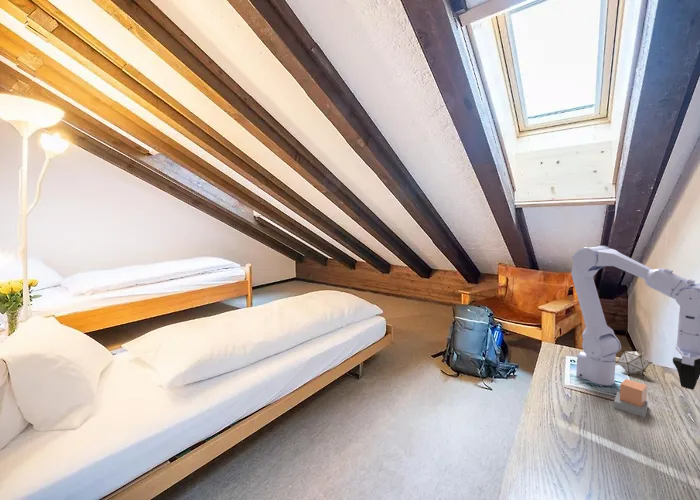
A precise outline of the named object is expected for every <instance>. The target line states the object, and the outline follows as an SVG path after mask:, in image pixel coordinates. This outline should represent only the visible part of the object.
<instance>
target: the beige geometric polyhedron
mask: <svg viewBox="0 0 700 500" xmlns="http://www.w3.org/2000/svg"><path fill="white" fill-rule="evenodd" d="M621 352H622V353H621V356H620V357H619V358H618V360H617V361H616V360H615V364H618V365H620V367H621V368H622V369H624V371H626V373H627V376H628V377H629V376H631V375H637V374H638V375H639V374H640V375H642V376H645V375H646V374H645V373H647V371H646V370H647V369H648V367H649V365H650V364H651V365H652V364H653V362H652V361H649V360H647V358H645V357H644V356H643V355H642V354H641V353H640V352H639V348H638V349H636V350H635V351H633V350H632V351H628V350H627V351H625V350H624V349H621Z"/></svg>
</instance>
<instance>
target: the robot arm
mask: <svg viewBox="0 0 700 500" xmlns="http://www.w3.org/2000/svg"><path fill="white" fill-rule="evenodd" d="M571 259H572V268H571V273H570V274H571V278H572V283H573V285H574V288H575V289H574V290H575V293H576V296H577V299H578V303H579V306H580V311H581V315H582V317H583V321H584V325H585V328H584V330H583V332H582V334H581V337H582V343H581V348H582V350H583V351H580V352H578V355H577V359H576V373H575V374H576V377H579V378H582V379H585V380H587V381H589V382H592V383H594V384H598V385H601V386H602V385H603V386H612V385H614V384H615V378H616V377H615V376H616V375H615V374H616V363H615V361H616V358H617V356H616V354H617V353H619V352H620V351H621V350H622V344H621V341H620V340H619V339H618V337H617V336H616V334H615V332H614V329H612V328H611V327H610V326H608V325H607V321H606V317H605V314H604V312H603V307H602V304H601V300H600V297H599V294H598V290H597V286H596V283H595V280H594V276H595V275H596V274H597V273H598V272H599V270H601V269H602V268H604V267H615V268H617V269H620V270H621V271H624V272H626V273H628V274H631V275H633V276H636V277H638V278H639V279H643V280H644V282H645V284H646V286H647V287H649V288H650V289H653V290H655V291H657V292H660V293H661V294H663V295H664V296H667V297H668V298H669V297H670V298H671V299H674V300H675V302H676V303H677V304H678V306H679V313H678V314H679V315H678V325H677V338H676V344H675V349H676V351H677V352H678V354H680V356H681V358H680V357H676V356H674V357H673V358H672V364H673V365H674V366H675V368H676V370H677V373H678V376H679V377H678V378H679V383H680V386H681V388H685V389H688V390H692V391H694V389H695V388H696V386H697V382H698V380H699V378H700V283H696V280H694V279H690V278H689V279H687V278H684V277H683V276H680V275H677V274H676V273H673V272H674V270H672V269H670V268H662V267H660V268H655V269H653V268H651V267H650V266H647V265H645V264H643V263H641V262H639V261H637V260H634V259H633V258H631V257H630V256H627V255H625V254H623V253H622V252H619V251H618V250H616V249H614V248H610V247H608V246H607V245H597V246H593V247H592V246H591V247H581V248H579V249H577V251H575V252H574V254H573V255H572V256H571Z"/></svg>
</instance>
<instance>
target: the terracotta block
mask: <svg viewBox="0 0 700 500" xmlns="http://www.w3.org/2000/svg"><path fill="white" fill-rule="evenodd" d="M619 392H620V400H623V401H626V402H628V403H631V404H634V405H637V406H640V407H642V406H643V404H644V403H645V402H646V400H647V395H648V384H644V383H640V382H638V381H634V380H631V379H629V378H628V379H627V378H625V379H624V380H623V381H622V382H621V383H620V388H619Z"/></svg>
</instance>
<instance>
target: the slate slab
mask: <svg viewBox="0 0 700 500" xmlns="http://www.w3.org/2000/svg"><path fill="white" fill-rule="evenodd" d="M648 402H649V400H648V399H646V402H645V403H644V404H643V406H642V407H640V406H637V405H634V404H631V403H628V402H626V401H623V400H620V391H617V392H616V395H615V397H614V400H613V408H615V409H618V410H621V411H623V412H627V413H630V414H633V415H637V416H639V417H643V418H646V417H647V411H648V406H649V405H648V404H649V403H648Z"/></svg>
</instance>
